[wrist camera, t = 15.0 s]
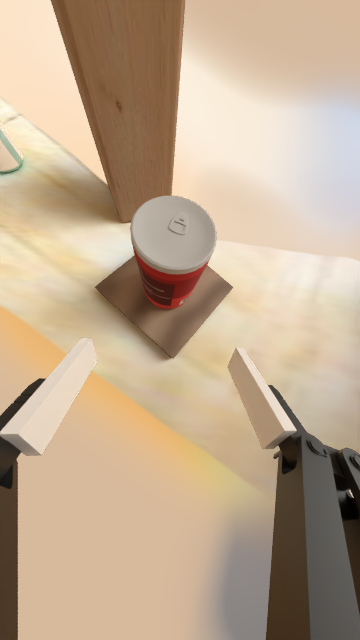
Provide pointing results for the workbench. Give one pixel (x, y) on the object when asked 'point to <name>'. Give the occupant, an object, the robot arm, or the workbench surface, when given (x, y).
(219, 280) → the walnut board
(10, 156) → the can
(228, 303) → the workbench surface
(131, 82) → the wooden block
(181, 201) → the canned food
